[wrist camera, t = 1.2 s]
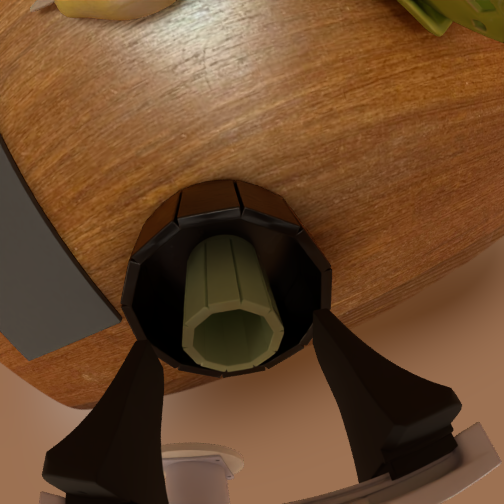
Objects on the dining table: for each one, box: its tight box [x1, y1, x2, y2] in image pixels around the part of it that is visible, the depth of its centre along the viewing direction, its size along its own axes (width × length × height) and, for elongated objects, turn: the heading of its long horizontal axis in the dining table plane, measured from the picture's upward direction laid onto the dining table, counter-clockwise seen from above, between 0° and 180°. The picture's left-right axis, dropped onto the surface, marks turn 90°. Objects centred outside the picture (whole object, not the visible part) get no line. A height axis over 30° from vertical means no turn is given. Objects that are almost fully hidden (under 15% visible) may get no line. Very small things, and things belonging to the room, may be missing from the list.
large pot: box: [121, 180, 332, 378], centre depth 17 cm, size 10×10×4 cm
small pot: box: [182, 235, 284, 372], centre depth 15 cm, size 4×4×6 cm
